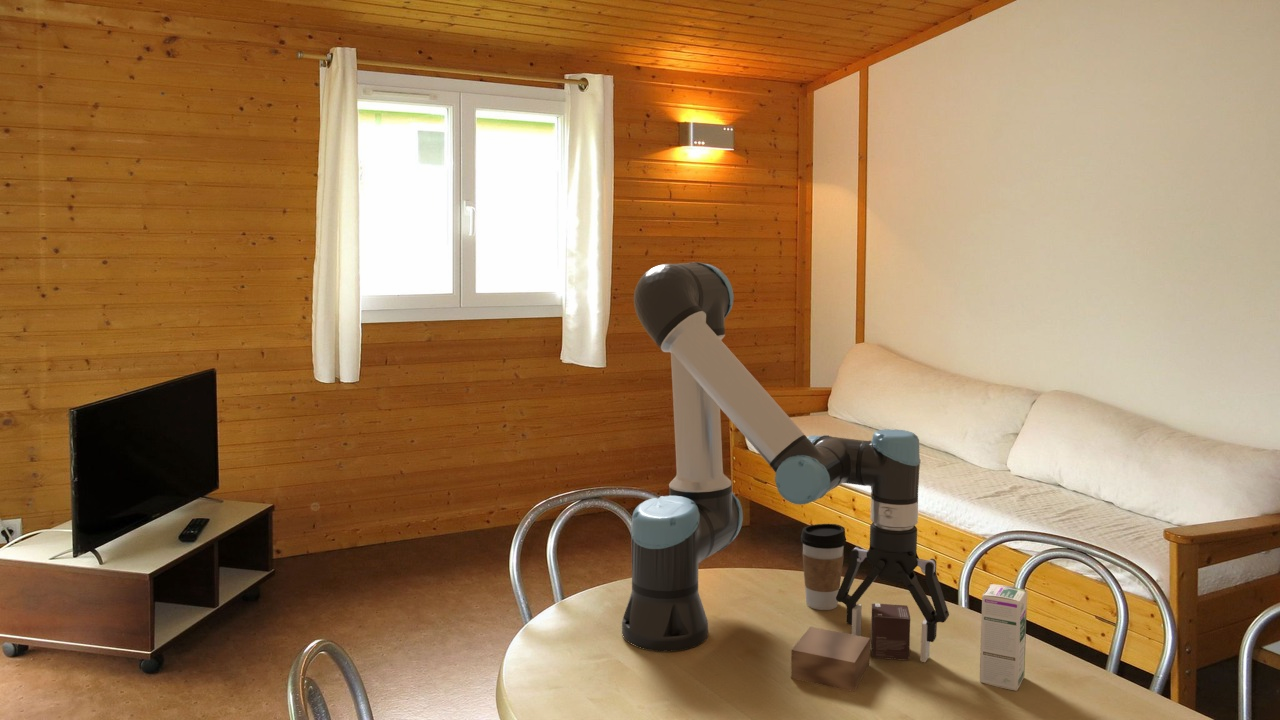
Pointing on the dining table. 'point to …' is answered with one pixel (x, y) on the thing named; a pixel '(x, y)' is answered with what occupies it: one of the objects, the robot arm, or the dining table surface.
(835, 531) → the coffee cup
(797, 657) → the walnut block
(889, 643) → the box
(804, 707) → the dining table surface
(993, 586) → the syrup box
